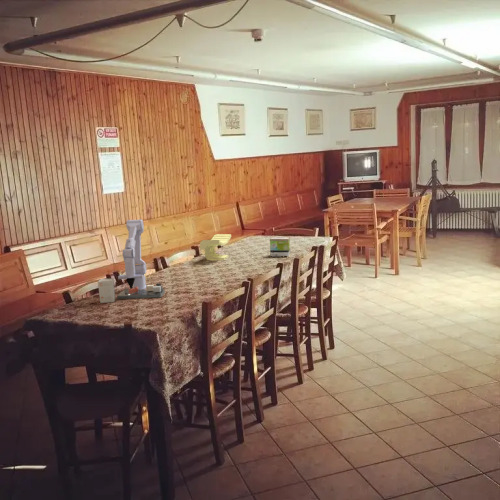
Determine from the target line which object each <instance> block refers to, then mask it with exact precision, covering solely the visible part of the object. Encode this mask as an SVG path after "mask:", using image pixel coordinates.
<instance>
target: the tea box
mask: <svg viewBox="0 0 500 500" xmlns="http://www.w3.org/2000/svg"><path fill="white" fill-rule="evenodd" d="M290 243H291V242H290V236H274V237H273V236H272V237H270V239H269V254H270V257H271V256H272V257H281V256H288V257H289V256H290V254H291V253H290V252H291V251H290V250H291V249H290V247H291V246H290Z"/></svg>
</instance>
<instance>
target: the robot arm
mask: <svg viewBox="0 0 500 500" xmlns="http://www.w3.org/2000/svg"><path fill="white" fill-rule="evenodd" d="M125 226H126V230H127V231H128V238H127V239H126V241H125V246H124V249H122V258H123V262H124V268H125V269H124V270H125V274H123V275H118V276H117V277H118V279H117V280H126V283H127V284H128V286H129V289H132V288H135V287H138V290H146V289H147V288H146V286H147V285H148V284H146V283H147V282H146V276H145V274H147V263H146V262H145V261H144V260H143V259H142V241H141V240H142V237H141V236H142V234H143V233H144V231H145V230H144V229H145V228H144V227H145V226H144V220H143V219H141V218H140V219H127V220H126V225H125Z"/></svg>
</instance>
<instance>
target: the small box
mask: <svg viewBox="0 0 500 500" xmlns="http://www.w3.org/2000/svg"><path fill="white" fill-rule="evenodd" d="M97 285H98V286H97V287H98V293H99V294H98V296H99V302H100V304H103V303H104V304H106V303H115V301H116V300H117V298H116V291H115V280H114V278H100V279H99V280H98V281H97Z"/></svg>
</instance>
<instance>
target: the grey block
mask: <svg viewBox="0 0 500 500" xmlns="http://www.w3.org/2000/svg"><path fill="white" fill-rule="evenodd" d="M161 286H162V285H161ZM161 286H156V285H154V287H153V291H154V292H161Z"/></svg>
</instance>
